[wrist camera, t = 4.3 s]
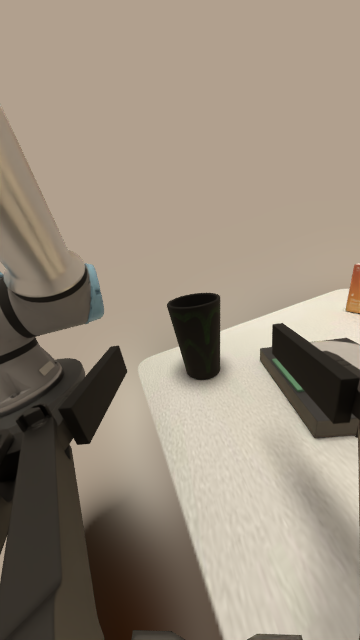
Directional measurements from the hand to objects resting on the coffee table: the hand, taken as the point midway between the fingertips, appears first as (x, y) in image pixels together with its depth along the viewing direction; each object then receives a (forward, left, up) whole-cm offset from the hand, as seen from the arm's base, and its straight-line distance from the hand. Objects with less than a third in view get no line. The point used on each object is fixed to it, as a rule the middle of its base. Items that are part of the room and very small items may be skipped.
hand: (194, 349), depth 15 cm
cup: (0, +11, -11) cm, 15 cm away
